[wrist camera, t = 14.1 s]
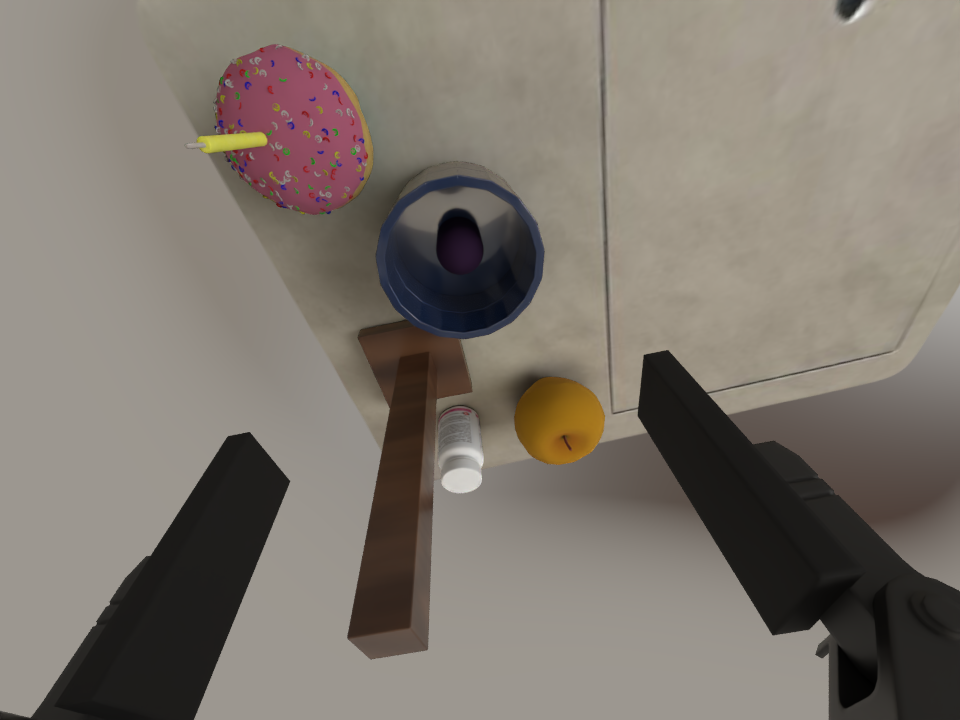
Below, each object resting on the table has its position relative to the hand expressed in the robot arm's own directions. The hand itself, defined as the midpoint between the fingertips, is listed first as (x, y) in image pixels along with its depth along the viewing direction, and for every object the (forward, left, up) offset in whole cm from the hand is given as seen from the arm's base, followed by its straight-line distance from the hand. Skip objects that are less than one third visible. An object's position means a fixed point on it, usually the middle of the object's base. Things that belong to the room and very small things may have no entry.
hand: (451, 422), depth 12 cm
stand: (+11, -6, -22) cm, 25 cm away
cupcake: (-9, -7, -22) cm, 25 cm away
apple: (+19, +7, -22) cm, 30 cm away
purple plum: (0, +1, -21) cm, 21 cm away
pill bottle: (+21, -4, -22) cm, 30 cm away
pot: (0, +1, -22) cm, 22 cm away
